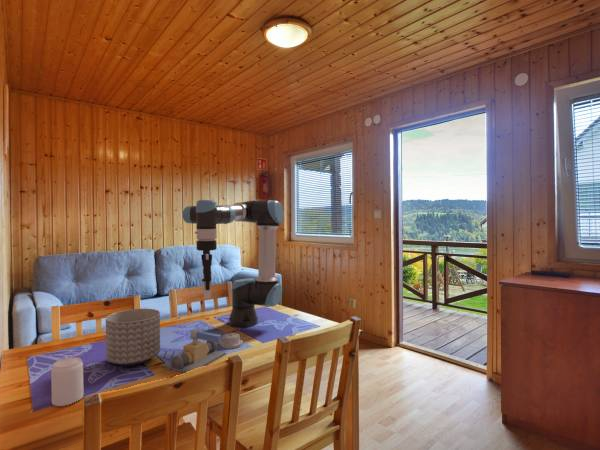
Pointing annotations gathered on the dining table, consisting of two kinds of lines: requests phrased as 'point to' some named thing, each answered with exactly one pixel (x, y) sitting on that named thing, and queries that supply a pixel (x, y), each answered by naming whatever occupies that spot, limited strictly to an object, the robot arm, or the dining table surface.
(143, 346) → the planter
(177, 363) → the valve assembly
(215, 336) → the lever
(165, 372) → the dining table surface
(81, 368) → the beverage can
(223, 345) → the mechanical component
